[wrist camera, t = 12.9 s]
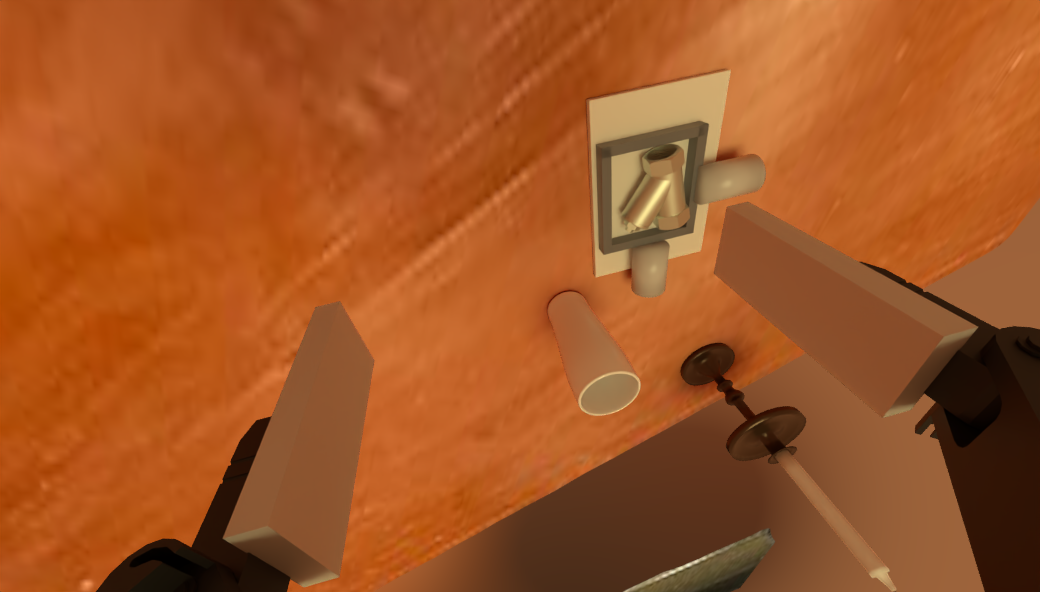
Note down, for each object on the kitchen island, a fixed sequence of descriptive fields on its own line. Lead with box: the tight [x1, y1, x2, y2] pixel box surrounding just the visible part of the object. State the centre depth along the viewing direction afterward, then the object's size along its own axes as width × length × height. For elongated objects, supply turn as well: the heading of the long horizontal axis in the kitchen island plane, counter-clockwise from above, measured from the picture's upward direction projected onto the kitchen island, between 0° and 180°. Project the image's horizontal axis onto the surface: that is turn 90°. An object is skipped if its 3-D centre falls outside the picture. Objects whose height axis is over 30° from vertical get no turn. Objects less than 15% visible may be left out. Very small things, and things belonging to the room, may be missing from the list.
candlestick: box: [680, 343, 897, 592], centre depth 49 cm, size 11×11×35 cm
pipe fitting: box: [622, 144, 690, 233], centre depth 39 cm, size 8×4×7 cm
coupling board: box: [586, 69, 766, 297], centre depth 40 cm, size 22×17×5 cm
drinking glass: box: [547, 291, 641, 416], centre depth 43 cm, size 7×7×15 cm
